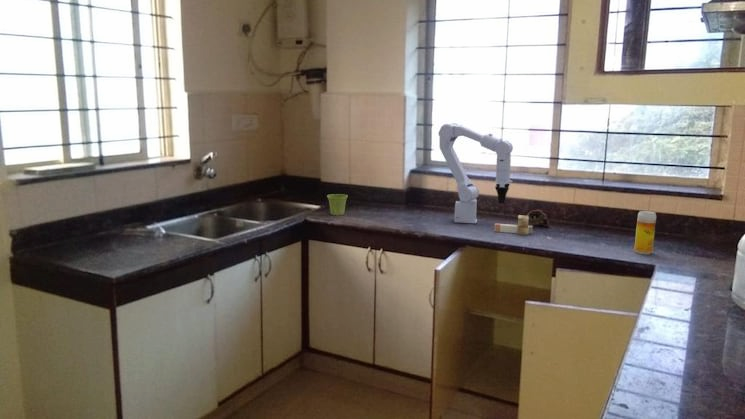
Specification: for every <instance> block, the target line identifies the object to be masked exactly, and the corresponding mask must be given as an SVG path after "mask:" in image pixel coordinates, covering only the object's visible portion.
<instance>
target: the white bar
mask: <svg viewBox="0 0 745 419" xmlns="http://www.w3.org/2000/svg"><path fill="white" fill-rule="evenodd" d="M495 231H496V232H497V233H509V234H510V233H513V234H517V231H518V224H508V223H507V224H506V223H497V222H496V223H494V232H495ZM528 235H533V225H528Z"/></svg>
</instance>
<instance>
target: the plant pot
mask: <svg viewBox="0 0 745 419" xmlns="http://www.w3.org/2000/svg"><path fill="white" fill-rule="evenodd" d="M326 197H327V200H328V204H329V211H330V215H332V216H335V215H336V216H338V215H339V216H344V215H345V208H346V202H347V198H348V197H349V196H348V194H343V193H342V194H341V193H336V194H335V193H334V194H333V193H332V194H328V195H326ZM343 214H344V215H343Z"/></svg>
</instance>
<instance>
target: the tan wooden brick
mask: <svg viewBox="0 0 745 419" xmlns="http://www.w3.org/2000/svg"><path fill="white" fill-rule="evenodd" d="M528 220H529V218H528V216H527V215H522V214H521V215H520V214H519V215H518V216H517V225H518V231H517V233H516V234H517V235H527V236H528V235H529V234H528V226H529V225H528Z"/></svg>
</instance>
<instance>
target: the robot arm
mask: <svg viewBox="0 0 745 419" xmlns="http://www.w3.org/2000/svg"><path fill="white" fill-rule="evenodd" d="M438 136H439V149H440V151H441V154H442V156H443V157H444V159H445V160H444V161H445V162H446V164H447V166H448V168H449V170H450V171H451V174H452V176H453V178H454V180H455V182H456V183H457V184H456V189H457V192H458V193H457V194H458V198H459V200H456V201H455V205H454V214H453V217H454V223H460V224H461V223H464V224H465V223H466V224H477V222H478V219H477V204H478V203H477V202H478V200H477V198H478V197H479V194H480V189H479V188H478V186H476V185H475V184H474V183H473V181H472V180H471V179H470V178H469V177H468V175H467V173H466V171H465V168H464V167H463V165H462V162H461V161H460V159H459V157H458V155H457V153H456V151H455V149H454V144H455V141H456V140H457V139H458V137H462V136H463V137H466V138H468V139H471V140H474V141H475V142H478V143H479V144H480V146H481V147H483V148H485V149H487V150H490V151H492V152H495V154H496V168H495V170H496V171H495V172H496V173H495V180H494V181H495V190H496V193H497V194H496V195H497V199H498V204H503V205H504V204H505V202H506V197H507V193H508V191H509V189H510V183H513V180H511V156H512V155H511V153H512V152H513V150H514V147H513V144H512V143H511V142H510V141H509V140H504V139H503V138H498V137H496V136H493V134H492V133H485V134H481V133H479V132H477V131H475V130H473V129H471V128H469V127H466V126H464V125H462V124H459V123H455V122H453V123H444V124H443V125H442V126H440V129H439V131H438Z"/></svg>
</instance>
